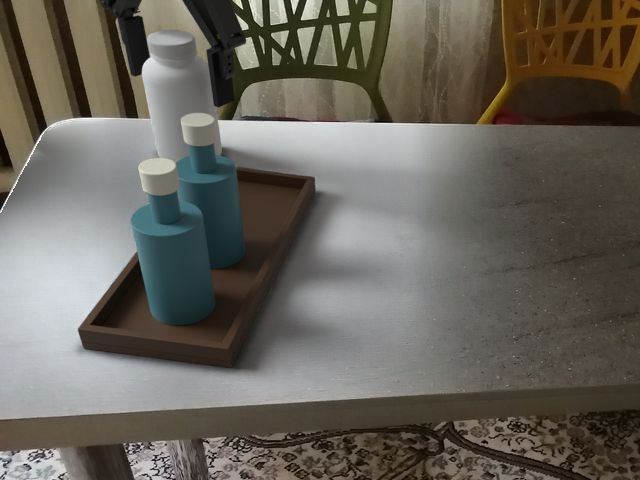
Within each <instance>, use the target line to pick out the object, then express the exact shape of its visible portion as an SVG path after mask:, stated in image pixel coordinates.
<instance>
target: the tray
mask: <svg viewBox="0 0 640 480" xmlns="http://www.w3.org/2000/svg"><path fill="white" fill-rule="evenodd" d="M236 169H237V178H238V187H239V196H240V206H241V215H242V224H243V233H244V242H245V255H244V257H243V258H242V259H241V260H240V261H239V262H238V263H236V264H234V265H232V266H229V267H225V268H218V269H211V275H212V282H213V288H214V295H215V302H216V305H215V308H214V310H213V312H212V313H211V314H210V315H209V316H208V317H207V318H205V319H203V320H201V321H199V322H197V323H193V324H189V325H168V324H165V323H162V322H160V321H158V320H157V319H155V318H154V317H153V315H152V314H151V311H150V306H149V302H148V297H147V293H146V288H145V284H144V280H143V275H142V271H141V266H140V262H139V257H138V253H137V251H136V252H135V253H134V254H133V256H132V257H131V258H130V260H129V261H128V262H127V264H126V265H124V267H123V269H122V270H121V271H120V272H119V274H118V275H117V277H115V279H114V280H113V282H112V284H110V286H109V287H108V288H107V290H106V291H105V292H104V294H103V295H102V296H101V298H100V299H99V300H98V301H97V303H96V304H95V305H94V306H93V308H92V310H91V311H90V312H89V313H88V314H87V316H86V317H85V319H84V320H83V321H82V322H81V324H80V325H79V327H78V328H77V332H78V335H79V338H80V341H81V346H82V348H83V349H86V350H92V351H93V350H95V351H102V352H110V353H116V354H124V355H125V354H126V355H131V356H132V355H133V356H140V357H146V358H154V359H162V360H170V361H177V362H178V361H179V362H183V363H184V362H185V363H193V364H200V365H206V366H207V365H208V366H215V367H223V368H230V369H231V368H232V366H233V365H234V363H235V360H236V359H237V356H238V354H239V352H240V350H241V348H242V346H243V344H244V342H245V339H246V338H247V335H248V333H249V332H250V329H251V327H252V325H253V323H254V321H255V320H256V317H257V315H258V313H259V311H260V309H261V307H262V304H263V303H264V300H265V299H266V296H267V294H268V293H269V290H270V289H271V286H272V285H273V282H274V281H275V278H276V276H277V274H278V272H279V269H280V268H281V266H282V263H283V262H284V259H285V257H286V255H287V254H288V252H289V249H290V247H291V244H292V243H293V241H294V239H295V237H296V235H297V233H298V231H299V228H300V226H301V224H302V222H303V220H304V218H305V216H306V214H307V212H308V210H309V208H310V206H311V204H312V202H313V199H314V197H315V196H316V177H315V176H310V175H304V174H303V175H302V174H295V173H287V172H280V171H272V170H266V169H258V168H251V167H244V166H243V167H242V166H236Z"/></svg>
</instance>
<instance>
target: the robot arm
mask: <svg viewBox="0 0 640 480" xmlns="http://www.w3.org/2000/svg"><path fill="white" fill-rule="evenodd" d="M181 1H182V2H183V4H184V6H185V7H186V9H187V11H188V12H189V14H190V15H191V17H192V18H193V20H194V21H195V24H196V25H197V27H198V28H199V30H200V32H202V34H203V36H204V38H205V39H206V41H207V43H208V44H209V46H210V47H209V48H208V49H206V50H205V51H206V59H207V63H208V67H209V74H210V81H211V88H212V96H213V103H214V106H216V108H221V107H223V106H226V105H228V104H231V103H233V102H235V101H236V97H235V90H234V81H233V77H235V75H236V70H235V64H234V63H235V62H234V60H235V59H234V52H233V51H234V50H233V49H236V48H240V47H241V46H244V45H246V44H247V37H246V35H245V32H244V30H243V28H242V26H241V23H240V21H239V19H238V16H237V14H236V11H235V10H234V9H235V8H234V7H233V5H232V2H231V0H181ZM99 2H100V5H101V7H102V9H104V10H110V11H111V12H112V15H113V16H114V18H116V20H117V23H118V28H119V33H120V37H121V41H122V44H123V45H124V48H125V53H126V57H127V63H128V68H129V72H130V76H132V77H139V76H142V67H143V65H144V63H145V62H146V60H148V59H149V58H150V57H151V56H150V52H149V48H148V43H147V33H146V28H145V23H144V17H143V16H141V15H140V14H139V13H141V11H142V10H140V9H139V7H140V6H141V3H142V2H143V0H99ZM136 14H139V15H136Z"/></svg>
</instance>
